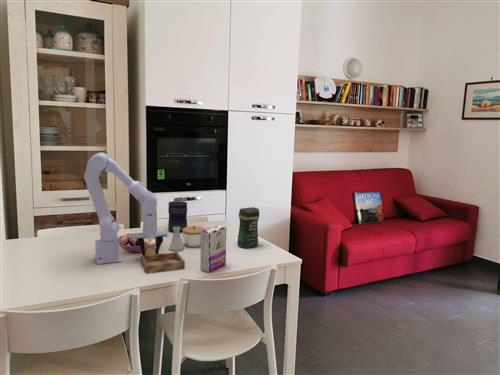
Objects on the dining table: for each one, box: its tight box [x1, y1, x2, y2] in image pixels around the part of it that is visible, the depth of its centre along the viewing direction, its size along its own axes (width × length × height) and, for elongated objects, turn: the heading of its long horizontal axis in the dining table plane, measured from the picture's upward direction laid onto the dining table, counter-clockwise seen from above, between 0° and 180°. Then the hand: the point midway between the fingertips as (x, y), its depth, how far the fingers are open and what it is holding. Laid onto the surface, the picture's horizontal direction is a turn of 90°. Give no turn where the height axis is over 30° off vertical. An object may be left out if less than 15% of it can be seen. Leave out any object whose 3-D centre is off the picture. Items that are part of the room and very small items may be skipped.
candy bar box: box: [200, 224, 227, 273], centre depth 158 cm, size 11×5×16 cm, turn 148°
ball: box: [144, 246, 156, 255], centre depth 166 cm, size 5×5×5 cm
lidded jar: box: [182, 225, 206, 248], centre depth 185 cm, size 11×11×9 cm
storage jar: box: [167, 200, 188, 234], centre depth 208 cm, size 10×10×15 cm
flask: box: [168, 227, 185, 252], centre depth 179 cm, size 7×7×10 cm
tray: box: [140, 251, 186, 274], centre depth 158 cm, size 15×12×3 cm
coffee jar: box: [237, 206, 260, 249], centre depth 187 cm, size 10×8×19 cm
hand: (150, 254), depth 166 cm, fingers closed on ball, 5 cm apart
